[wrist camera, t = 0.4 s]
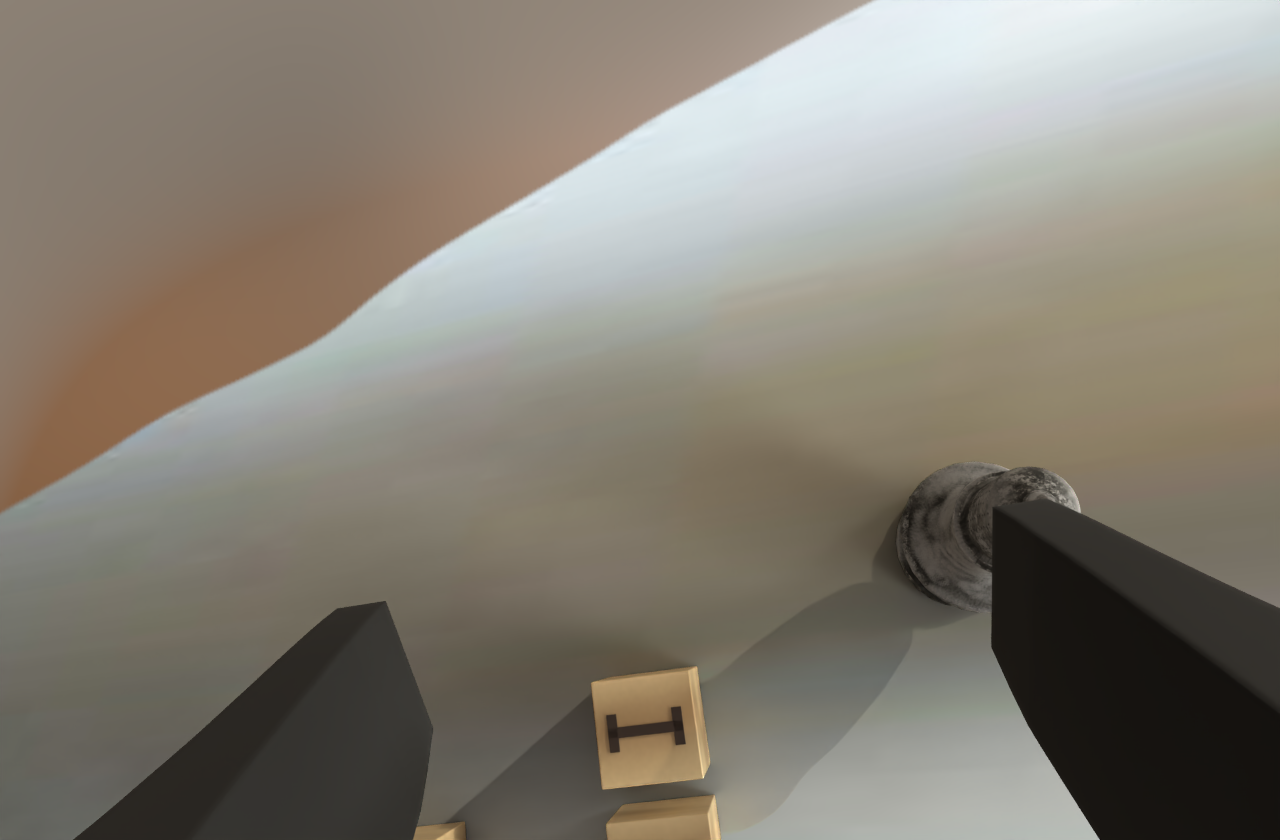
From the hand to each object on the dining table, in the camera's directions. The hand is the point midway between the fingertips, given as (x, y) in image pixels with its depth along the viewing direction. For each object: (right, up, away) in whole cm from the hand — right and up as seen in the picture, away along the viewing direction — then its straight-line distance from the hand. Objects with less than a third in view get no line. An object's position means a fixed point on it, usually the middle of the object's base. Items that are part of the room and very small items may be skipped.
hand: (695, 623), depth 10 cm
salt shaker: (+13, -3, +25) cm, 29 cm away
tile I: (0, -11, +25) cm, 27 cm away
